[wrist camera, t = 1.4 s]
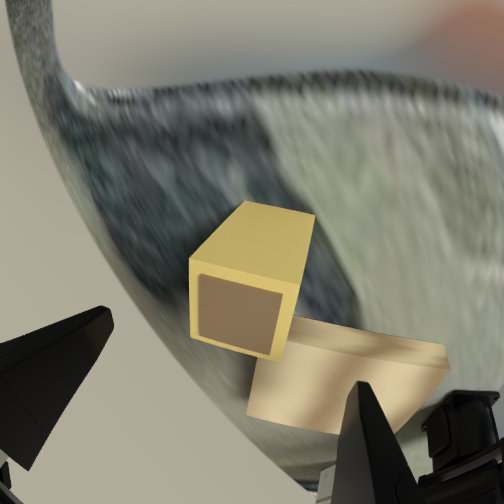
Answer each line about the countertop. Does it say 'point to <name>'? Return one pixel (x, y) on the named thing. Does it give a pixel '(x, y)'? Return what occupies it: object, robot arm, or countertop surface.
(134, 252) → the countertop surface
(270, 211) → the mustard block
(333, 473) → the syrup box
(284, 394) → the cutting board
